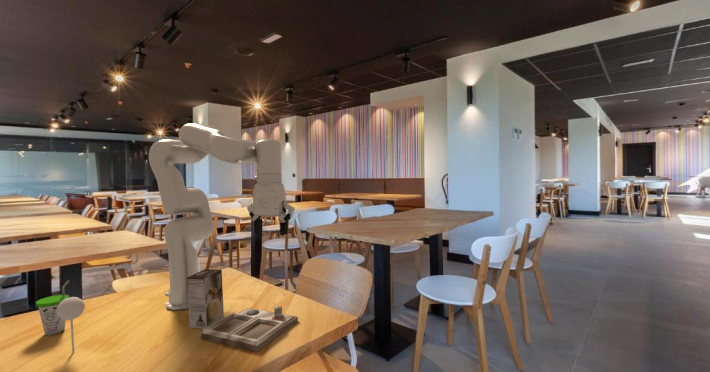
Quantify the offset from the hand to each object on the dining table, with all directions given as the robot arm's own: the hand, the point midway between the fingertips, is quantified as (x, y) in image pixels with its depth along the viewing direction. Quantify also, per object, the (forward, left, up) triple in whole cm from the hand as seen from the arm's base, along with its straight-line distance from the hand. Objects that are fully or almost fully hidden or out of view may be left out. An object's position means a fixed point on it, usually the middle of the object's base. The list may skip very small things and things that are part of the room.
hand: (271, 233), depth 108 cm
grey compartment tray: (-3, -7, -28) cm, 29 cm away
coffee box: (-20, -8, -28) cm, 36 cm away
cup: (-59, -30, -28) cm, 72 cm away
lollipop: (-40, -35, -28) cm, 60 cm away
